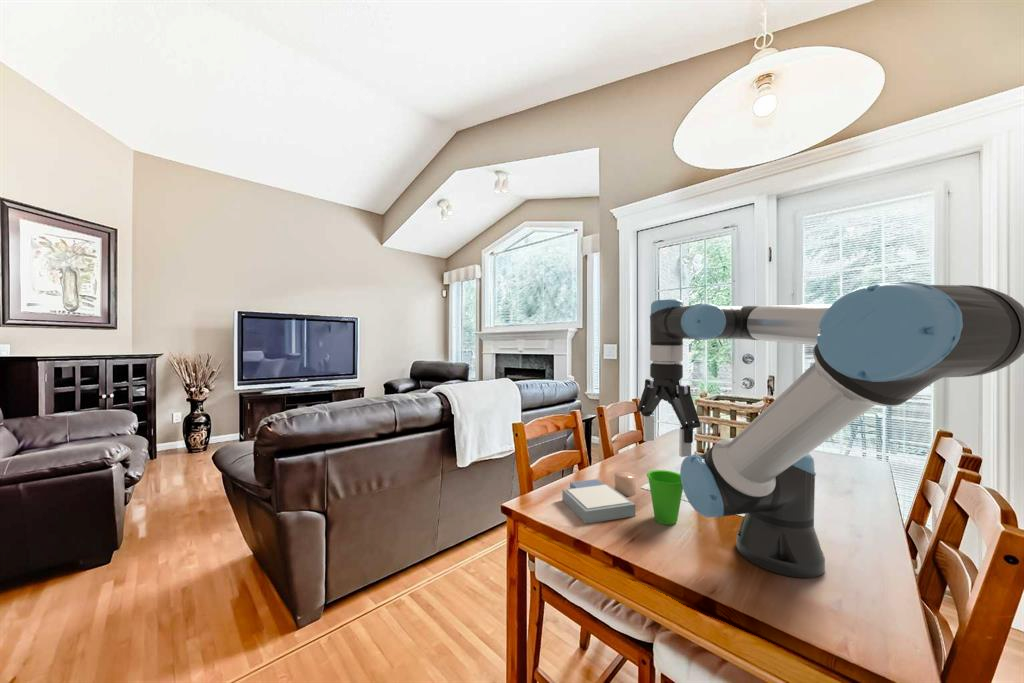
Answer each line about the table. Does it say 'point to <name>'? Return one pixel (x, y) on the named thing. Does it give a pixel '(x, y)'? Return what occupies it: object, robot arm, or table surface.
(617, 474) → the beige rounded block
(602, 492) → the podium
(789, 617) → the table surface
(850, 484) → the table surface
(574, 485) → the book
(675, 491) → the cup
